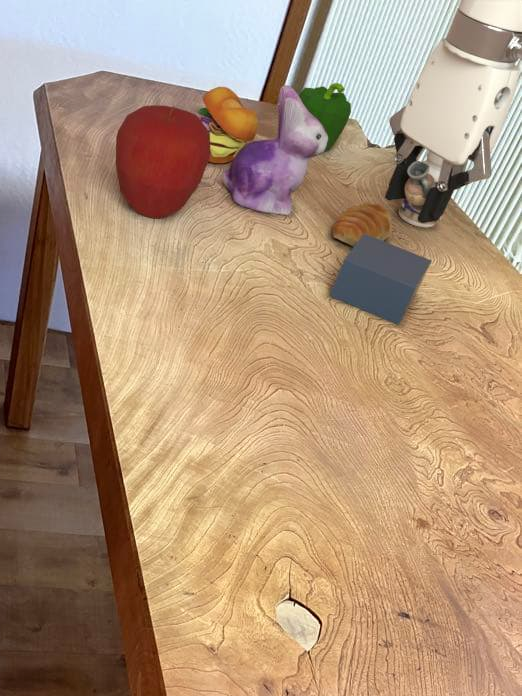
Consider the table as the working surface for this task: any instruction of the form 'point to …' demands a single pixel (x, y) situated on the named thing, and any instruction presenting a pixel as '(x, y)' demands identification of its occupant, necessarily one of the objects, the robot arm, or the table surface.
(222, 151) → the cheeseburger
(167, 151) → the apple
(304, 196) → the table surface
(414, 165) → the vase
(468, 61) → the robot arm
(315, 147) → the figurine
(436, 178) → the pill bottle
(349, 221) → the pastry
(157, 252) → the table surface
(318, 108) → the bell pepper
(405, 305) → the block
